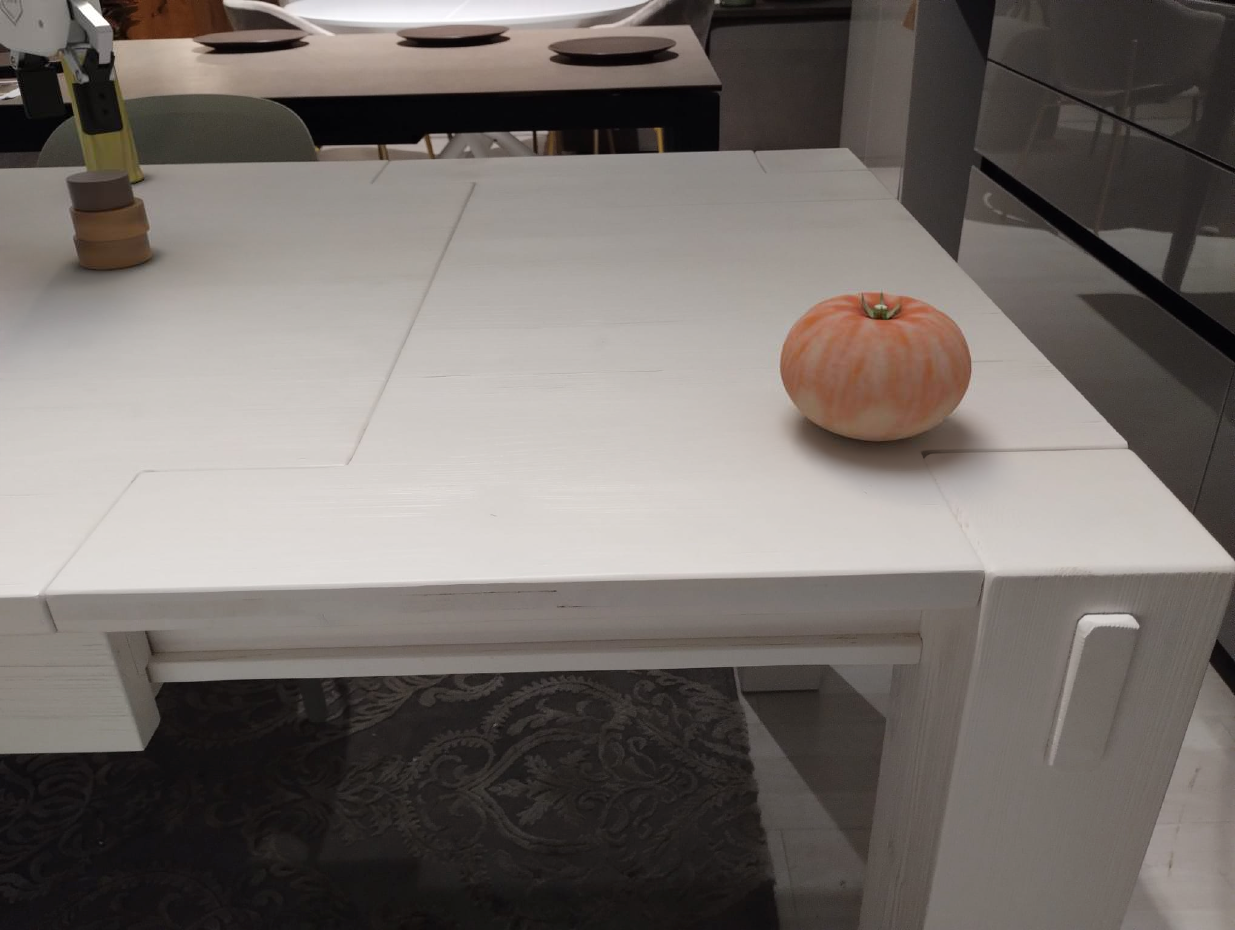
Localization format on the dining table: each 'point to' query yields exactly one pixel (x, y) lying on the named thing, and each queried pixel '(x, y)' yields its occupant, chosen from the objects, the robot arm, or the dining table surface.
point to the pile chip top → (110, 223)
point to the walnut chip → (100, 190)
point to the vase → (106, 137)
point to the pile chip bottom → (113, 252)
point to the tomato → (875, 366)
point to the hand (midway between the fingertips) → (74, 124)
